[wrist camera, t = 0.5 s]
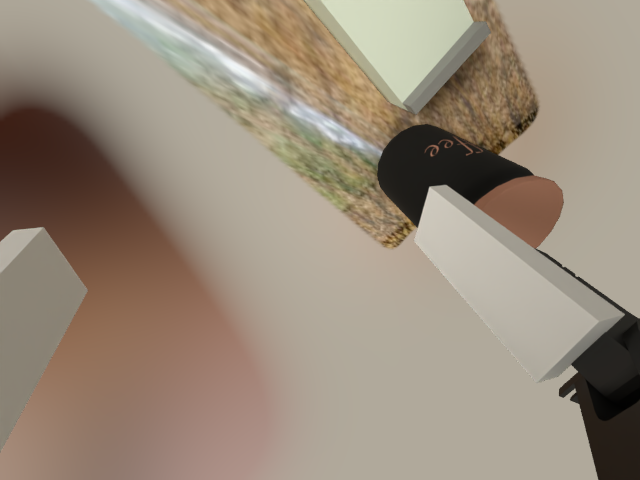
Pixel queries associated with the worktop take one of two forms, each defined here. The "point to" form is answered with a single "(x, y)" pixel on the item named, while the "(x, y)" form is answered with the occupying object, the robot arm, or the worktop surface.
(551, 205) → the coffee jar
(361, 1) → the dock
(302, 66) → the worktop surface
